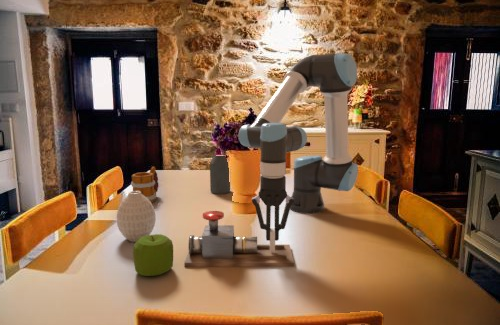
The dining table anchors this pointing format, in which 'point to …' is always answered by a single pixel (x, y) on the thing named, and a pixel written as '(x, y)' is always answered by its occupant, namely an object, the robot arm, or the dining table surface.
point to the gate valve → (213, 239)
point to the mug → (146, 183)
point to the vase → (135, 216)
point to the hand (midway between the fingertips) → (272, 249)
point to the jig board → (247, 258)
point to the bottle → (219, 175)
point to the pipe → (244, 244)
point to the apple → (153, 255)
